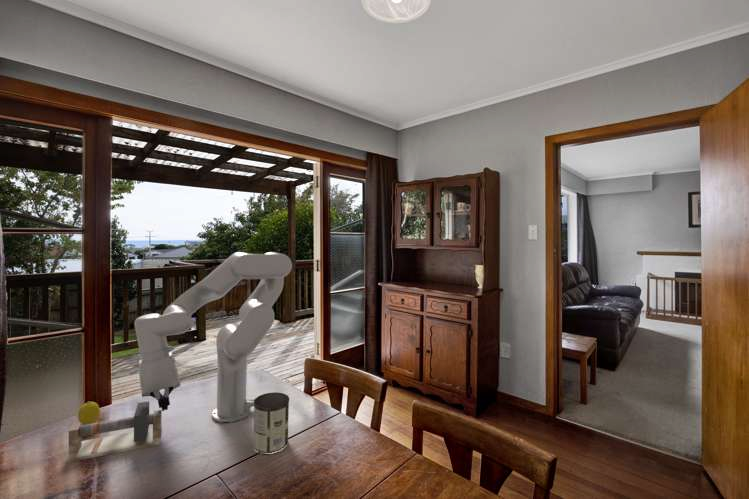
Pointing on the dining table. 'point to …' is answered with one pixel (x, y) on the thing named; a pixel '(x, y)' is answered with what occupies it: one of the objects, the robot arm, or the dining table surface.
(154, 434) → the pipe stand
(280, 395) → the coffee can
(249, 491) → the dining table surface
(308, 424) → the dining table surface
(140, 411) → the grey frame
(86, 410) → the lemon
